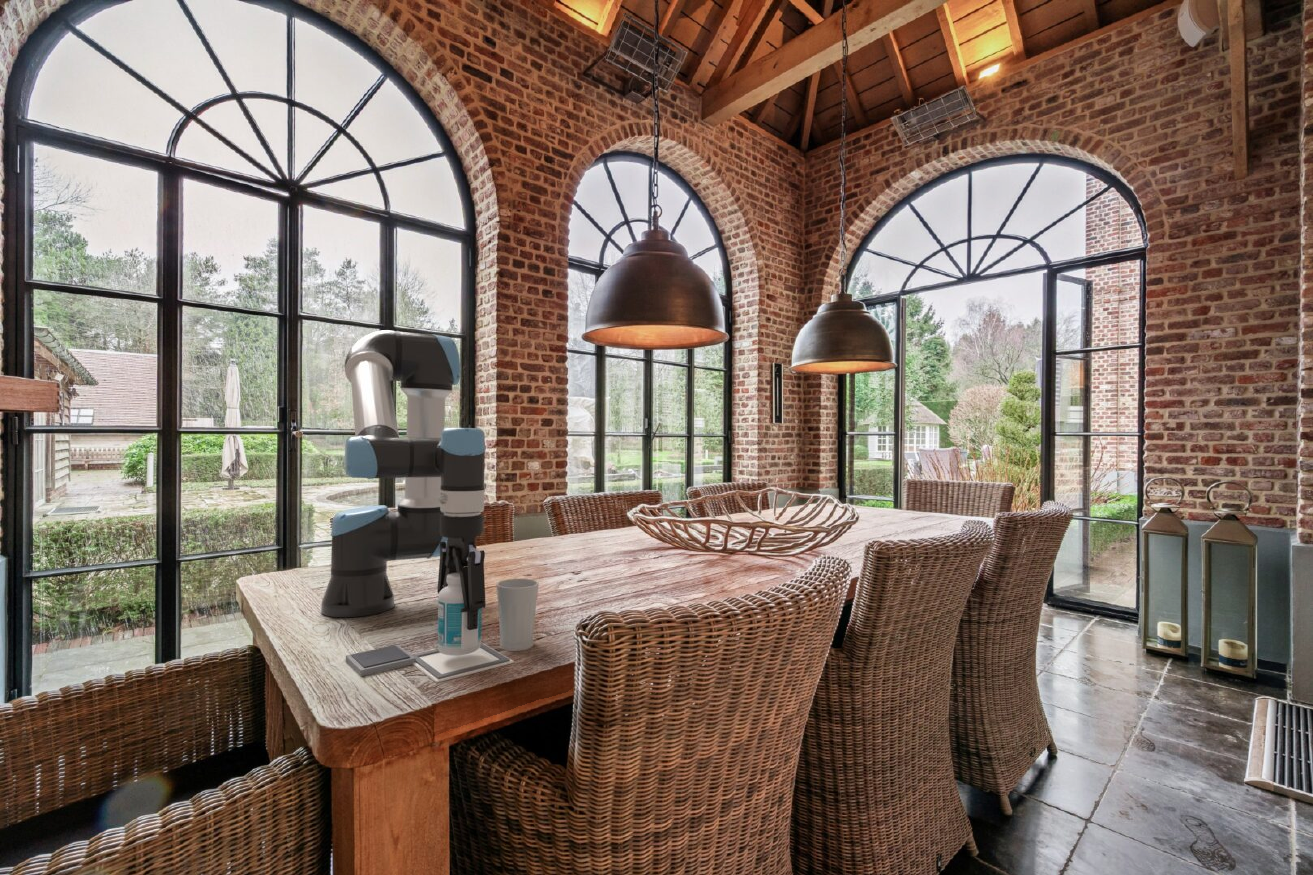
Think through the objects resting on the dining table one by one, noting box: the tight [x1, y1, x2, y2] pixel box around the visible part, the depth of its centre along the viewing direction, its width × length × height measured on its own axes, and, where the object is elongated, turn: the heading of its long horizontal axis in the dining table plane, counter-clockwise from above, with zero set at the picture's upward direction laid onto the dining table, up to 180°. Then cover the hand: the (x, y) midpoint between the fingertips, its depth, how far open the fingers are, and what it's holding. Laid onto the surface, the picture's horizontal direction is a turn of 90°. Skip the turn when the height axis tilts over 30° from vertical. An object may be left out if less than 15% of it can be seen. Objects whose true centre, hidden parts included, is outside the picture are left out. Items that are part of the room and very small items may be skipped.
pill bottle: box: [437, 573, 482, 656], centre depth 108 cm, size 8×7×14 cm
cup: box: [496, 578, 540, 652], centre depth 117 cm, size 8×8×12 cm
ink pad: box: [345, 644, 416, 677], centre depth 107 cm, size 9×9×1 cm
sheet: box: [411, 642, 515, 684], centre depth 108 cm, size 14×14×1 cm
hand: (459, 640), depth 108 cm, fingers closed on pill bottle, 7 cm apart
